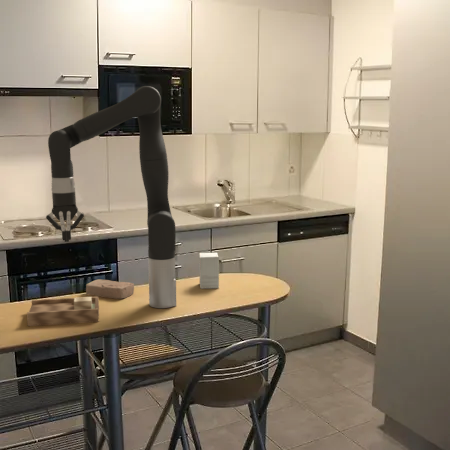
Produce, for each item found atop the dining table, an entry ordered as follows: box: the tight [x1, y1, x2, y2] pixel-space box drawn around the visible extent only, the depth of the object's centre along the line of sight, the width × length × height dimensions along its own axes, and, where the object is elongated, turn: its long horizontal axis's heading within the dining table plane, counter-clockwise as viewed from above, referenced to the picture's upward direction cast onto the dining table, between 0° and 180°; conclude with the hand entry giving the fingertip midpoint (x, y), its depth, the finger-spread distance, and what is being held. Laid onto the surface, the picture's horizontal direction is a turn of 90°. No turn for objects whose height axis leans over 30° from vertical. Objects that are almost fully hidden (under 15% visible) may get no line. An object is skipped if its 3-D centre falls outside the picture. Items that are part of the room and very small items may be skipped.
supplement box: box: [198, 252, 220, 290], centre depth 238 cm, size 7×7×13 cm
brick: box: [85, 278, 135, 300], centre depth 228 cm, size 17×8×5 cm, turn 67°
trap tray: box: [26, 296, 100, 327], centre depth 202 cm, size 22×14×4 cm, turn 101°
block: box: [73, 296, 93, 310], centre depth 203 cm, size 6×4×3 cm
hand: (66, 241), depth 207 cm, fingers closed
